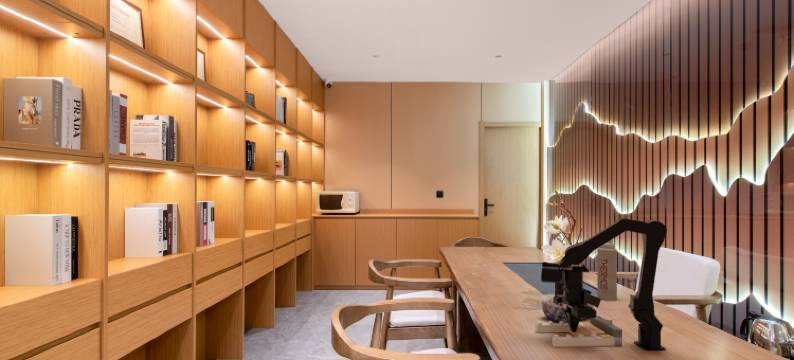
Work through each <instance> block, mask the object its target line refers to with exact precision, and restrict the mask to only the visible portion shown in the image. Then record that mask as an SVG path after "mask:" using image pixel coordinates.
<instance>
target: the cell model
mask: <svg viewBox="0 0 794 360" xmlns="http://www.w3.org/2000/svg"><path fill="white" fill-rule="evenodd" d="M562 295H564V293H563V294H562ZM591 295H594V294H593V293H591ZM541 305H542V312H543V314H544V317H546V318H548V319H550V320H551V321H554V322H558V323H560V321H563V322H564V323H568V322H567V320H566V318H565V316H564V314H563V312H562V310H561V308H563V304H562V303H559V304H558V305H556V304H555V303H553V299H551V300H550V299H548V300H542V301H541ZM582 306H590V307H592V308H594V306H593V305H590V304H588V303H587V305H582ZM584 319H585V318H581V319H580V320H584Z"/></svg>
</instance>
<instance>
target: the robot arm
mask: <svg viewBox="0 0 794 360" xmlns="http://www.w3.org/2000/svg"><path fill="white" fill-rule="evenodd" d="M627 231H628V232H632V233H636V234H640V235H641V238H642V244H643V252H642V258H641V264H640V265H641V266H640V272H639V273H640V274H639V279H638V286H637V290H636V293H635V294H629V297H630V298H629V299H630V301H629V304H628V306H627V307H628V309H630V313H631V314H632V316H633V317H634V318H633V319H635V321H636V322H638V325H637V326H638V328H637V336H638V337H637V341H636V340H634V341H633V344H635V345H636V346H639V347H640V348H642V349H644V350H645V351H661V350H663V351H664V350H665V351H666V350H667V348H666V347H665V346H663V345H662V329H663V327H664V325H663V323H662V322H661V320H659V318H658V317H657V316H656V315H655V304H654V298H653V297H654V296H653V293H654V287H655V280H656V279H655V278H656V273H657V265H658V259H659V253H660V252H659V251H660V249H661V247H662V246H663V244H664V242H665V239H666V235H667V233H668V229H667V226H666V225H665V223H663V222H661V221H658V220H656V219H649V220H646V221H643V220H636V219H632V218H631V219H629V218H627V217H619V218H618V219H617V220H616V221H615V222H613V223H611V224H610V225H609V226H607V227H605V228H604V229H602V230H600V231H599V232H597V233H596V234H594V235H593V236H591V237H589V238H588V239H585V240H583V241H580V242H576V243H574V244H572V245H569V246H567V247H566V248H565V250H564V253H563V254H564V256H562V258H561V259H560V260H559V261H558V262H548V261H542V262H541V272H540V280H541V281H540V282H541V283H549V284H550V283H551V284H560V283H559V282H562V281H563V272H564V285H562V286H561V290H563V294H564V295H563V294H555V295H554V296H553V297H552V300H553V303H555V304H556V305H558V304H559V303H562V304H563V308H561V310H562V312H563V314H564V316H565V318H566V320H567V322H568V325H569V327H570V329H571V331H572V332H576V330H577V327H578V324H579V322H581V320H582V319H581V318H584V319H590V318H596V317H597V316H598V315H597V313H598V312H597V310H596V309H595V308H597V309H598V308H599V306H600V304H601V301H602V299H600V298H598V297H597V296H596V295H594V294H593V295H591V294H592V291H590V290H588V289H587V288H585V287H584V273H590V269H589V267H587V266H586V264H585V263H583V262H584V261H585V260H586V259H587V258H589V256H590V255H591V254H592V253H593V252H594V251H595V250H597V248H599V247H600V246H602V245H604V244H605V243H607V242H609V241H610V240H612V239H613V240H614V239H615V238H616V237H617V238H618V236H620V235H622V234H623V233H625V232H627ZM582 263H583V264H582ZM587 303H588V304H590V305H593V308H592V307H590V306H582V305H587ZM594 307H595V308H594Z"/></svg>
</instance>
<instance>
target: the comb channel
mask: <svg viewBox="0 0 794 360" xmlns="http://www.w3.org/2000/svg"><path fill="white" fill-rule="evenodd" d="M589 321H590V322H588V321H580V322H579V323H590V324H592V325H593V326H595V327H597V328H598V329H600V330H602V331H603V332H605V335H600V336H596V335H595V334H591V336H588V337H584V335H582V334H578V337H574V336H572V335H571V334H570V327H569V325H568V323H564V322H563V321H560V322H558V323H554V322H553V321H552V320H549V321H548V323H542V322H541V321H536V323H535V332H536V333H569V334H565V336H560V335H558V334H553V336H552V338H551V339H552V340H551V341H552V342H551V343H552V346H553V347H554V348H557V347H558V348H560V347H561V348H562V347H563V348H564V347H565V348H567V347H569V348H570V347H571V348H572V347H574V348H575V347H611V346H612V347H614V346H615V347H616V346H617V347H618V346H621V347H622V346H623V329H622V328H620V327H619V326H617V325H615V324H614V323H613V319H612V318H609V317H608V316H606V315H597V317H596V318H589Z"/></svg>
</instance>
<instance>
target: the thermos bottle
mask: <svg viewBox="0 0 794 360" xmlns="http://www.w3.org/2000/svg"><path fill="white" fill-rule="evenodd" d="M613 240H614V238H613V239H612V240H610V241H609V242H607V243H605V244H604V245H602V246H600V247H599V248H597V249H596V251H597V253H596V256H597V257H596V258H597V260H596V261H597V264H596V265H597V266H596V268H597V269H596V271H597V273H596V274H597V283H596V286H597V287H596V289H597V292H596V293H597V294H596V295H597V296H596V297H598V298H600V299H601V301H602V300H603V301H617V300H618V258H617V257H618V255H617V254H618V253H617V252H618V249H617V248H616V244H615V243H614V241H613Z"/></svg>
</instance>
